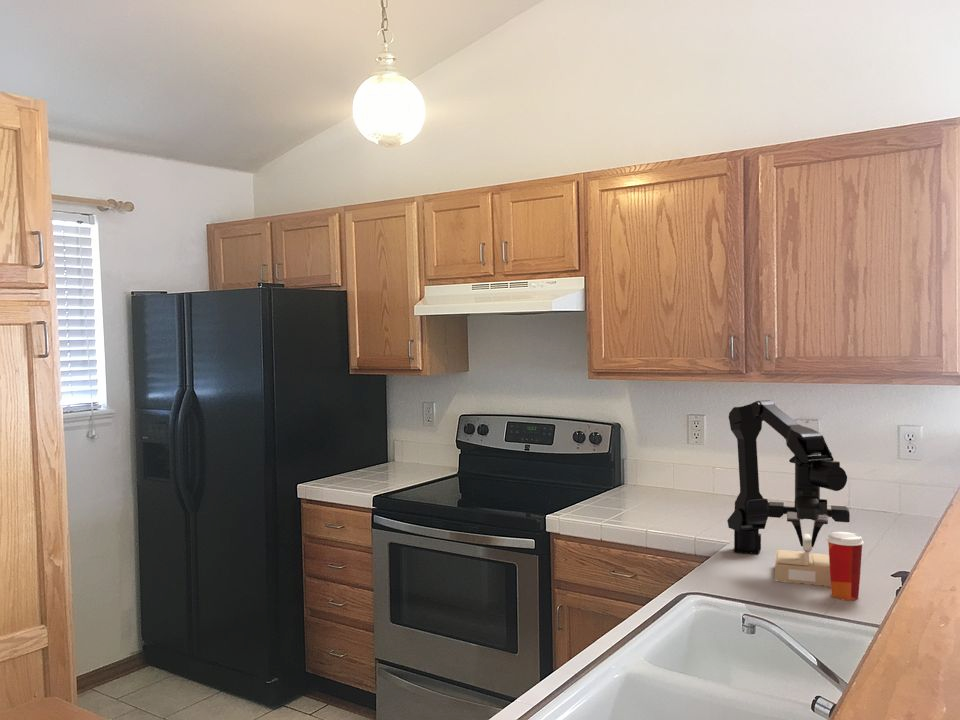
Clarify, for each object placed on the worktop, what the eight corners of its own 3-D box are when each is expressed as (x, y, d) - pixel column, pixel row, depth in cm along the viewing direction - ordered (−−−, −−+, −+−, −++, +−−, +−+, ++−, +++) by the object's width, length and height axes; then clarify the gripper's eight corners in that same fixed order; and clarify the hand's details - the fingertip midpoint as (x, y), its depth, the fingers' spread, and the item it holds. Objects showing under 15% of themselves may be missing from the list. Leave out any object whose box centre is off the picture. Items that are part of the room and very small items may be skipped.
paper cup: (853, 590, 190) (853, 530, 189) (870, 601, 182) (870, 539, 182) (820, 591, 189) (820, 531, 189) (835, 602, 182) (835, 540, 181)
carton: (775, 581, 197) (775, 563, 197) (776, 566, 209) (776, 549, 209) (847, 588, 191) (847, 569, 191) (844, 572, 204) (844, 554, 203)
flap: (777, 562, 198) (777, 541, 198) (778, 551, 208) (778, 531, 208) (811, 566, 195) (811, 544, 195) (811, 553, 205) (811, 533, 205)
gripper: (765, 487, 196) (765, 551, 196) (851, 492, 189) (850, 558, 190) (767, 479, 206) (767, 540, 207) (848, 483, 199) (847, 546, 200)
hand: (807, 546), depth 200 cm, fingers closed on flap, 2 cm apart
